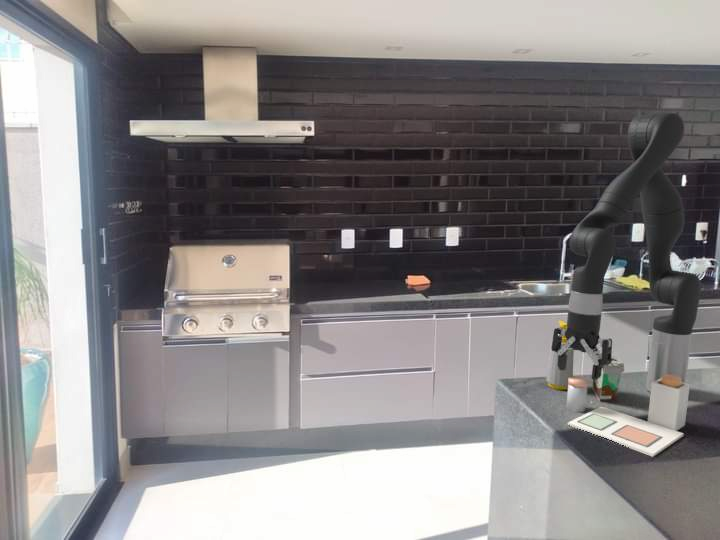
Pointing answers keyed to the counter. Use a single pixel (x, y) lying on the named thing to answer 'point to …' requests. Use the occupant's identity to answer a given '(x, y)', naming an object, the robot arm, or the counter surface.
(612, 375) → the food container
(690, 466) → the counter surface
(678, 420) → the white open box
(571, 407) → the peach-capped grey cylinder
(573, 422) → the picture board
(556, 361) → the soap bottle
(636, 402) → the counter surface
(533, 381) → the counter surface
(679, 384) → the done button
